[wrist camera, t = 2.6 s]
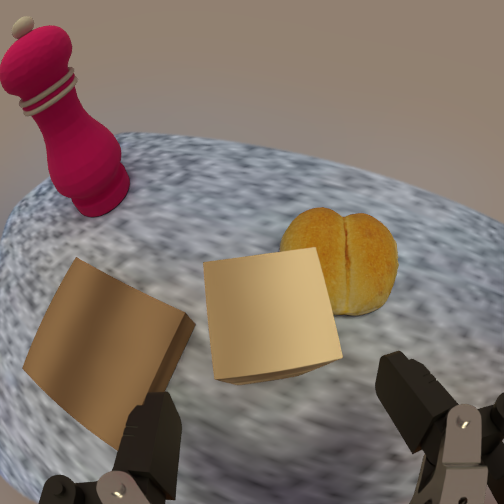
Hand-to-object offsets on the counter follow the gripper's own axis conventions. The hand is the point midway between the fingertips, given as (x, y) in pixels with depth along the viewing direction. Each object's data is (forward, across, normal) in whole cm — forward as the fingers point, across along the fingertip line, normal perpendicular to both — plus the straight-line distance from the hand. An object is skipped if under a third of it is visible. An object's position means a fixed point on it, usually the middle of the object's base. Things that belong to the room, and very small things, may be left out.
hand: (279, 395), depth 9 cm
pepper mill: (+20, +14, -8) cm, 25 cm away
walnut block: (+8, +11, +3) cm, 14 cm away
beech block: (+8, 0, +4) cm, 9 cm away
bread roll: (+12, -7, 0) cm, 14 cm away
